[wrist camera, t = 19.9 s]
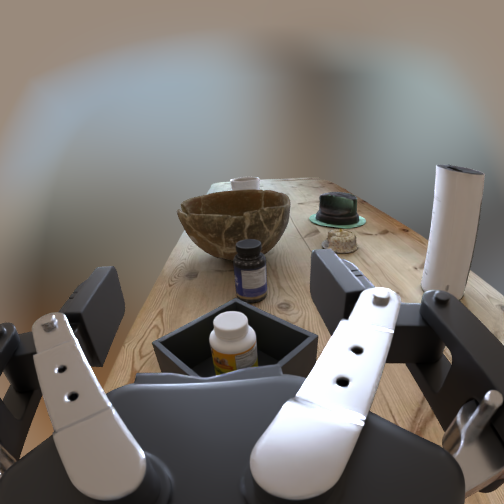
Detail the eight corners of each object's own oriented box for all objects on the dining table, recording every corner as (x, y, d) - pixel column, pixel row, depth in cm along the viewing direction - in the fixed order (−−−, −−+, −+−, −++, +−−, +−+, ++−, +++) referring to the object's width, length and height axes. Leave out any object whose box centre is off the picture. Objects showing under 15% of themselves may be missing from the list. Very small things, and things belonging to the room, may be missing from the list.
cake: (352, 241, 85) (355, 223, 83) (361, 255, 76) (364, 236, 74) (319, 239, 85) (321, 221, 83) (324, 253, 76) (326, 233, 74)
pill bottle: (237, 288, 63) (232, 238, 59) (267, 287, 63) (264, 236, 58) (235, 304, 57) (230, 250, 53) (268, 303, 57) (265, 248, 53)
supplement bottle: (210, 375, 39) (199, 315, 35) (246, 361, 42) (240, 302, 38) (228, 402, 35) (218, 340, 31) (266, 385, 37) (263, 323, 33)
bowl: (176, 285, 66) (165, 219, 60) (191, 242, 90) (184, 193, 85) (301, 275, 66) (301, 208, 61) (282, 235, 91) (281, 185, 86)
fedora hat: (369, 212, 107) (367, 230, 90) (327, 231, 117) (316, 251, 100) (351, 176, 105) (345, 187, 88) (309, 197, 115) (295, 212, 98)
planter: (247, 208, 124) (245, 182, 120) (226, 205, 131) (224, 180, 127) (266, 202, 132) (265, 177, 128) (245, 199, 140) (244, 176, 136)
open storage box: (236, 445, 29) (229, 407, 26) (164, 382, 38) (151, 342, 36) (314, 377, 38) (318, 335, 35) (239, 337, 48) (235, 297, 45)
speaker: (463, 307, 48) (488, 173, 38) (417, 296, 54) (434, 164, 44) (463, 283, 56) (481, 168, 46) (423, 275, 62) (435, 160, 52)
